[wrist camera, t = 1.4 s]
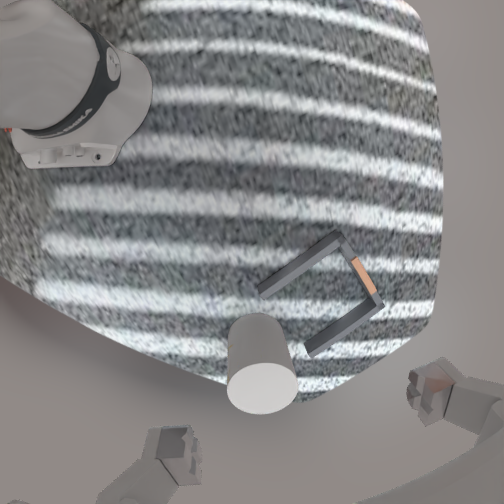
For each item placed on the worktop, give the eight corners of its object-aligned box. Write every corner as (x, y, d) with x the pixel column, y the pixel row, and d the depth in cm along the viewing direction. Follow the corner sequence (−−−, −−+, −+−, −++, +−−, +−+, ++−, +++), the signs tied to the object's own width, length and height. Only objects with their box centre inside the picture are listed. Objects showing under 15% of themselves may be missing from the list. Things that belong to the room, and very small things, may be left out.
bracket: (307, 347, 45) (312, 360, 42) (257, 286, 42) (259, 296, 38) (376, 298, 44) (386, 308, 40) (335, 229, 40) (344, 235, 37)
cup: (217, 329, 43) (213, 382, 32) (266, 303, 43) (278, 351, 31) (246, 367, 45) (250, 422, 34) (292, 344, 45) (309, 396, 33)
